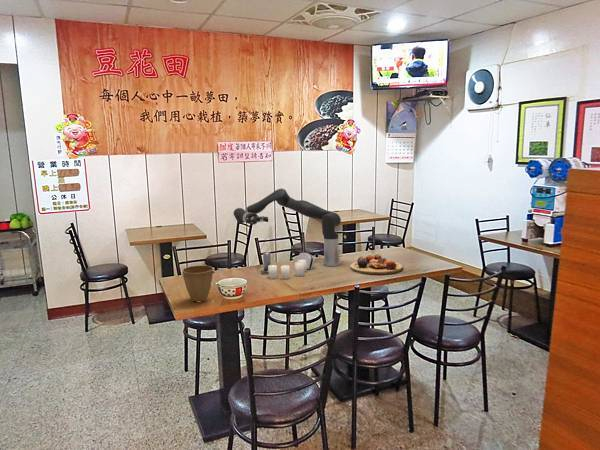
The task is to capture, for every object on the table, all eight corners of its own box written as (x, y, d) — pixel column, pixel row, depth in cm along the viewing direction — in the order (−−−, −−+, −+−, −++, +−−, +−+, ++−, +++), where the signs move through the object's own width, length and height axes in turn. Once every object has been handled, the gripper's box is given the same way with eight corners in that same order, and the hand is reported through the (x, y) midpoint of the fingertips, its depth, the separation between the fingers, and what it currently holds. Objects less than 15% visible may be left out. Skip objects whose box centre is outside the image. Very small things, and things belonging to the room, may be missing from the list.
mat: (273, 270, 270) (273, 269, 270) (274, 273, 262) (274, 273, 262) (260, 271, 268) (260, 270, 268) (261, 274, 261) (261, 274, 260)
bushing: (271, 270, 268) (270, 251, 266) (272, 272, 263) (271, 253, 261) (262, 271, 267) (262, 251, 265) (263, 273, 262) (262, 253, 260)
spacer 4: (305, 270, 267) (305, 259, 266) (307, 272, 263) (307, 261, 261) (297, 270, 267) (297, 259, 266) (299, 273, 262) (298, 261, 261)
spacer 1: (276, 276, 257) (276, 264, 255) (277, 278, 252) (277, 266, 251) (268, 276, 256) (267, 265, 255) (269, 279, 251) (268, 267, 250)
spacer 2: (289, 276, 255) (288, 264, 254) (290, 278, 250) (290, 267, 249) (280, 277, 254) (280, 265, 253) (281, 279, 249) (281, 267, 248)
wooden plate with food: (413, 272, 258) (413, 258, 257) (364, 277, 248) (364, 263, 247) (386, 261, 288) (386, 249, 287) (341, 266, 278) (341, 253, 277)
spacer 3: (303, 273, 260) (302, 262, 259) (304, 275, 255) (304, 264, 254) (294, 274, 259) (294, 262, 258) (296, 276, 254) (295, 264, 253)
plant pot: (183, 306, 208) (181, 274, 206) (185, 296, 223) (183, 266, 220) (215, 303, 211) (213, 271, 209) (215, 294, 226) (213, 264, 223)
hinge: (294, 264, 282) (298, 250, 282) (300, 266, 284) (304, 251, 284) (305, 270, 267) (309, 255, 267) (311, 272, 269) (316, 256, 269)
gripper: (240, 213, 281) (251, 216, 268) (259, 211, 289) (271, 214, 275) (240, 225, 283) (251, 228, 269) (260, 222, 290) (271, 225, 276)
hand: (261, 221), depth 272 cm, fingers open, 8 cm apart
